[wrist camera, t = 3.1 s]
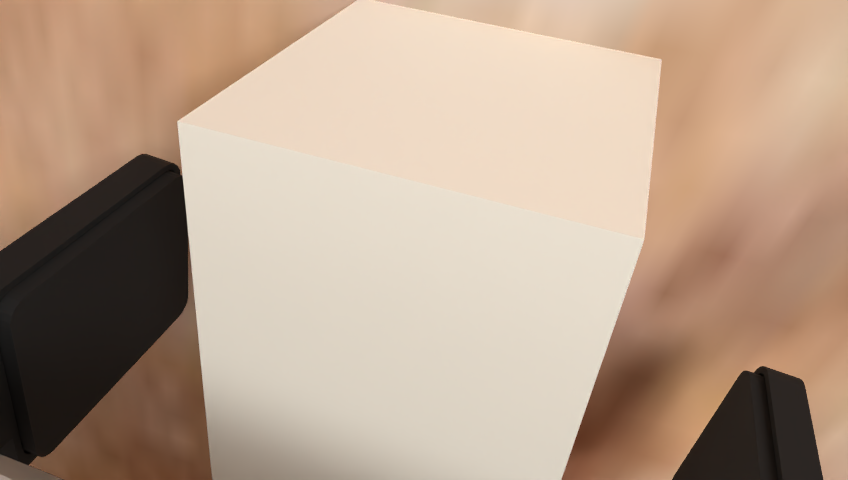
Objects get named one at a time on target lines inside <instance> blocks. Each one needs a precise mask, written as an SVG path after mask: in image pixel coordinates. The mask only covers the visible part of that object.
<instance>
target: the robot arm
mask: <svg viewBox="0 0 848 480" xmlns="http://www.w3.org/2000/svg"><path fill="white" fill-rule="evenodd" d="M187 299H188V226H187V216H186V205H185V195H184V185H183V176H182V175H180V170H179V168H178V166H177V165H175V164H174V163H171V162H168V161H165V160H162V159H159V158H156V157H153V156H150V155H147V154H141V155H139V156H137V157H135V158H134V159H133V160H131V161H130V162H128V163H127V164H125V165H124V166H122V167H121V168H120V169H118V170H117V171H115V172H114V173H112V174H111V175H109V176H108V177H107V178H105V179H104V180H102V181H101V182H99V183H98V184H96V185H95V186H94V187H92V188H91V189H89V190H88V191H86V192H85V193H83V194H82V195H81V196H79V197H78V198H76V199H75V200H73V201H72V202H70V203H69V204H68V205H66V206H65V207H63V208H62V209H60V210H59V211H57V212H56V213H55V214H53V215H52V216H50V217H49V218H47V219H46V220H44V221H43V222H42V223H40V224H39V225H37V226H36V227H34V228H33V229H31V230H30V231H29V232H27V233H26V234H24V235H23V236H21V237H20V238H19V239H17V240H16V241H14V242H13V243H11V244H10V245H8V246H7V247H6V248H4V249H3V250H1V251H0V480H63V479H61V478H58V477H56V476H54V475H51V474H49V473H46V472H44V471H41V470H39V469H36V468H34V467H31V466H28V465H29V464H30V463H31V462H32V461H33V460H34V459H35V458H36V457H37V456H40V457H44V456H46V455H48V454H50V453H51V452H52V451H53V450H54V449H55V448H56V447H57V446H58V445H59V444H60V443H61V442H62V441H63V440H64V438H65V437H66V436H67V435H68V434H69V433H70V432H71V431H72V430H73V429H74V428H75V427H76V426H77V425H78V424H79V422H80V421H81V420H82V419H83V418H84V417H85V416H86V415H87V414H88V413H89V412H90V411H91V410H92V409H93V408H94V406H95V405H96V404H97V403H98V402H99V401H100V400H101V399H102V398H103V397H104V396H105V395H106V394H107V393H108V392H109V390H110V389H111V388H112V387H113V386H114V385H115V384H116V383H117V382H118V381H119V380H120V379H121V378H122V377H123V376H124V374H125V373H126V372H127V371H128V370H129V369H130V368H131V367H132V366H133V365H134V364H135V363H136V362H137V361H138V360H139V358H140V357H141V356H142V355H143V354H144V353H145V352H146V351H147V350H148V349H149V348H150V347H151V346H152V345H153V344H154V343H155V341H156V340H157V339H158V338H159V337H160V336H161V335H162V334H163V333H164V332H165V331H166V330H167V329H168V328H169V327H170V325H171V324H172V323H173V322H174V321H175V320H176V319H177V318H178V317H179V316H180V314H181V313H182V312H183V310H184V308H185V306H186V303H187ZM672 480H823V476H822V471H821V466H820V460H819V455H818V450H817V445H816V440H815V435H814V430H813V425H812V420H811V415H810V409H809V404H808V399H807V394H806V389H805V385H804V382H803V381H802V380H801V379H799V378H796V377H794V376H791V375H788V374H785V373H782V372H779V371H776V370H773V369H770V368H767V367H764V366H762V367H759V368H758V369H757V370H756V371H755V372H754V373H752V372H749V371H743V372H742V373H741V374H740V375H739V377H738V378H737V380H736V381H735V383H734V384H733V386H732V388H731V389H730V391H729V392H728V394H727V395H726V397H725V398H724V400H723V401H722V403H721V404H720V406H719V408H718V409H717V411H716V412H715V414H714V415H713V417H712V418H711V420H710V421H709V423H708V424H707V426H706V427H705V429H704V431H703V432H702V434H701V435H700V437H699V438H698V440H697V441H696V443H695V444H694V446H693V447H692V449H691V451H690V452H689V454H688V455H687V457H686V458H685V460H684V461H683V463H682V464H681V466H680V467H679V469H678V471H677V472H676V474H675V475H674V477H673V479H672Z"/></svg>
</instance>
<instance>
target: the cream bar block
mask: <svg viewBox="0 0 848 480" xmlns="http://www.w3.org/2000/svg"><path fill="white" fill-rule="evenodd" d="M661 61H662V59H657V58H652V57H647V56H643V55H638V54H633V53H628V52H623V51H618V50H613V49H608V48H604V47H599V46H594V45H589V44H584V43H579V42H574V41H569V40H564V39H560V38H555V37H550V36H545V35H540V34H535V33H530V32H525V31H521V30H516V29H511V28H506V27H501V26H496V25H491V24H486V23H481V22H477V21H472V20H467V19H462V18H457V17H452V16H447V15H442V14H437V13H433V12H428V11H423V10H418V9H413V8H408V7H403V6H398V5H394V4H389V3H384V2H379V1H374V0H357V1H355V2H354V3H352V4H351V5H349V6H348V7H346V8H345V9H343V10H342V11H340V12H339V13H337V14H336V15H334V16H333V17H332V18H330V19H329V20H327V21H326V22H324V23H323V24H321V25H320V26H318V27H317V28H315V29H314V30H312V31H311V32H309V33H308V34H306V35H305V36H303V37H302V38H300V39H299V40H297V41H296V42H294V43H293V44H291V45H290V46H288V47H287V48H285V49H284V50H282V51H281V52H279V53H278V54H276V55H275V56H274V57H272V58H271V59H269V60H268V61H266V62H265V63H263V64H262V65H260V66H259V67H257V68H256V69H254V70H253V71H251V72H250V73H248V74H247V75H245V76H244V77H242V78H241V79H239V80H238V81H236V82H235V83H233V84H232V85H230V86H229V87H227V88H226V89H224V90H223V91H221V92H220V93H218V94H217V95H216V96H214V97H213V98H211V99H210V100H208V101H207V102H205V103H204V104H202V105H201V106H199V107H198V108H196V109H195V110H193V111H192V112H190V113H189V114H187V115H186V116H184V117H183V118H181V119H180V120H178V121H177V123H178V134H179V144H180V154H181V164H182V175H183V185H184V195H185V205H186V216H187V226H188V236H189V246H190V257H191V267H192V277H193V287H194V298H195V308H196V318H197V328H198V339H199V349H200V359H201V369H202V380H203V390H204V400H205V410H206V421H207V431H208V441H209V451H210V462H211V472H212V480H561V479H562V476H563V473H564V470H565V467H566V464H567V462H568V459H569V456H570V453H571V450H572V447H573V444H574V441H575V438H576V436H577V433H578V430H579V427H580V424H581V421H582V418H583V415H584V412H585V410H586V407H587V404H588V401H589V398H590V395H591V392H592V389H593V386H594V384H595V381H596V378H597V375H598V372H599V369H600V366H601V363H602V360H603V358H604V355H605V352H606V349H607V346H608V343H609V340H610V337H611V334H612V332H613V329H614V326H615V323H616V320H617V317H618V314H619V311H620V308H621V306H622V303H623V300H624V297H625V294H626V291H627V288H628V285H629V282H630V279H631V277H632V274H633V271H634V268H635V265H636V262H637V259H638V256H639V253H640V251H641V248H642V245H643V242H644V238H645V228H646V217H647V207H648V197H649V186H650V176H651V165H652V155H653V144H654V134H655V123H656V113H657V103H658V92H659V82H660V71H661Z"/></svg>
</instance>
